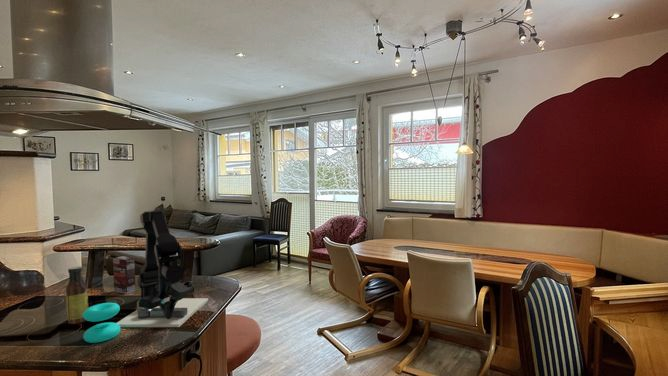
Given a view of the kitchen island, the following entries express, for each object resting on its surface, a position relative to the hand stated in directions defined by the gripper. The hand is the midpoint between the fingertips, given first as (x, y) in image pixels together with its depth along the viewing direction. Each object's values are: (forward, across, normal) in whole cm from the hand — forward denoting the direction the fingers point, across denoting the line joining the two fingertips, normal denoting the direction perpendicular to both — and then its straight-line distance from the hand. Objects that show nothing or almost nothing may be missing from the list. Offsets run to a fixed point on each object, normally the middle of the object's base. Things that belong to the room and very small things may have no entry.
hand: (168, 318), depth 117 cm
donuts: (+2, -15, +12) cm, 20 cm away
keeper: (+1, +4, +15) cm, 16 cm away
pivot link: (+1, +2, +6) cm, 7 cm away
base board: (+2, +7, +10) cm, 12 cm away
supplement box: (+2, +18, +49) cm, 52 cm away
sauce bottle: (+2, -11, +34) cm, 35 cm away
